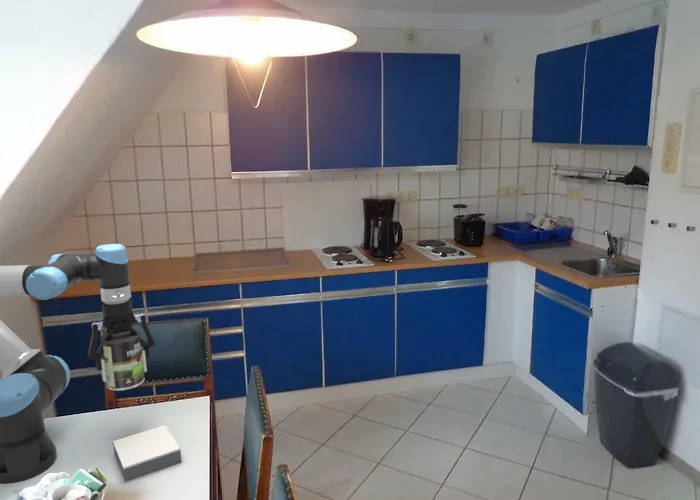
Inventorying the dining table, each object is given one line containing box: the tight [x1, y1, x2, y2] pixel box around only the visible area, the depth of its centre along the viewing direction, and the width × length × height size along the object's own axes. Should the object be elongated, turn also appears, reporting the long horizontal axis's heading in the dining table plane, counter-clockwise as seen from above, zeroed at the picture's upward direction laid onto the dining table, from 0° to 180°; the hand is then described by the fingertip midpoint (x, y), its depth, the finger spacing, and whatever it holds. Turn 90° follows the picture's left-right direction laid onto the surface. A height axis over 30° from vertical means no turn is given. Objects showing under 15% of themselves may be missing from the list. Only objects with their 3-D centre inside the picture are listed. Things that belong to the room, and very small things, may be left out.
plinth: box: [112, 424, 182, 482], centre depth 140 cm, size 14×14×4 cm
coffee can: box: [100, 330, 145, 392], centre depth 148 cm, size 10×10×14 cm
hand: (124, 375), depth 149 cm, fingers closed on coffee can, 10 cm apart
